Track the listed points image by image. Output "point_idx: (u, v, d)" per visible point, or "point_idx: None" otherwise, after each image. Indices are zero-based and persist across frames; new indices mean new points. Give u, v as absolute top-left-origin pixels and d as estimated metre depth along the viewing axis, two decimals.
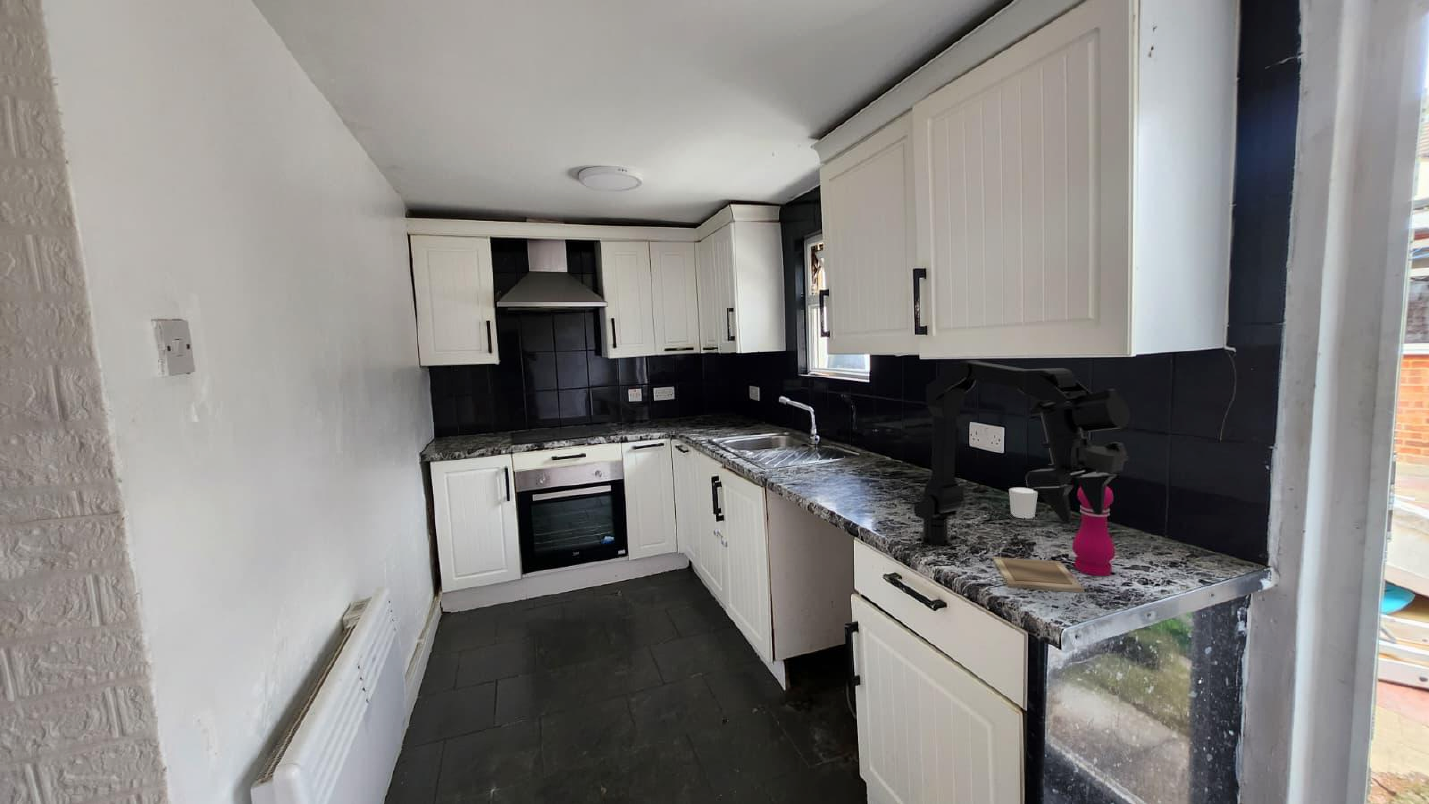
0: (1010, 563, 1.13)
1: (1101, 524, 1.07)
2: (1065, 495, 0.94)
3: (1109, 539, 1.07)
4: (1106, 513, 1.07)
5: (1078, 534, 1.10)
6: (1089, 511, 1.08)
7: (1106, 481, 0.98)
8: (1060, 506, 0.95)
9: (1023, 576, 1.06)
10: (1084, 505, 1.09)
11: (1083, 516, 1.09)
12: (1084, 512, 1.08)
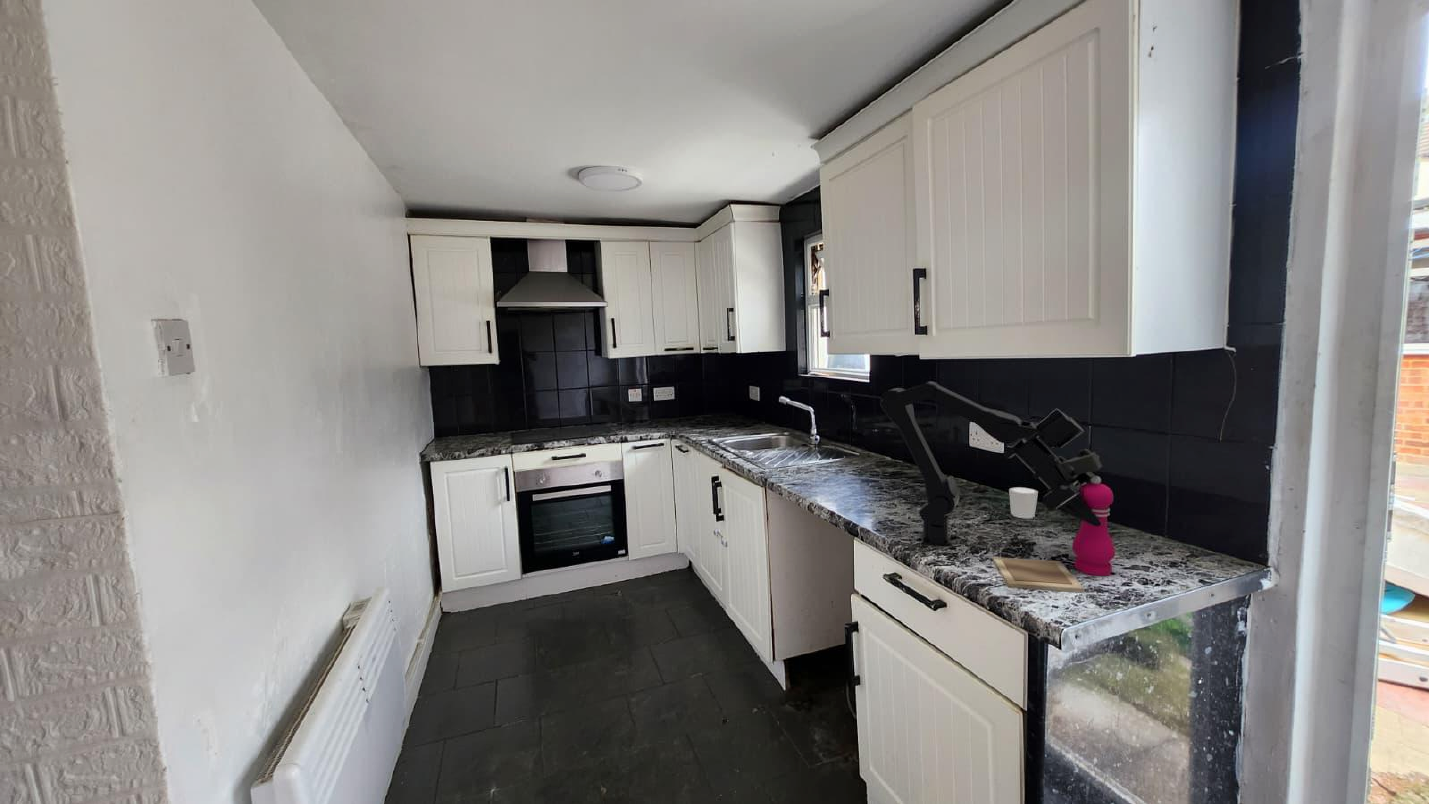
0: (1010, 563, 1.13)
1: (1101, 524, 1.07)
2: (1083, 501, 1.07)
3: (1109, 539, 1.07)
4: (1106, 513, 1.07)
5: (1078, 534, 1.10)
6: None
7: None
8: (1085, 512, 1.07)
9: (1023, 576, 1.06)
10: None
11: None
12: None
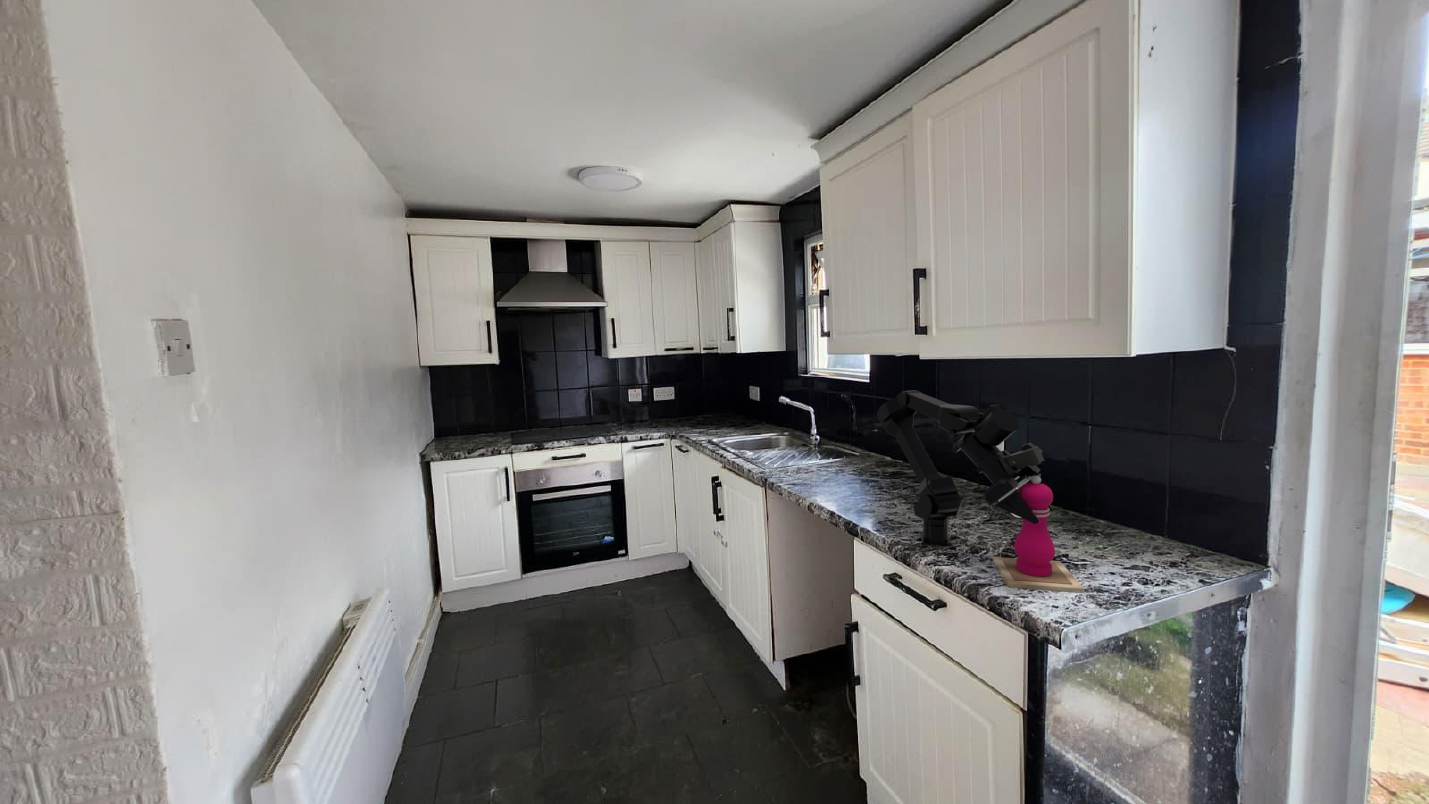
0: (1010, 563, 1.13)
1: (1040, 524, 1.06)
2: (1021, 497, 1.04)
3: (1049, 539, 1.06)
4: (1045, 513, 1.05)
5: (1019, 534, 1.09)
6: None
7: None
8: (1023, 509, 1.04)
9: (1023, 576, 1.06)
10: None
11: None
12: None
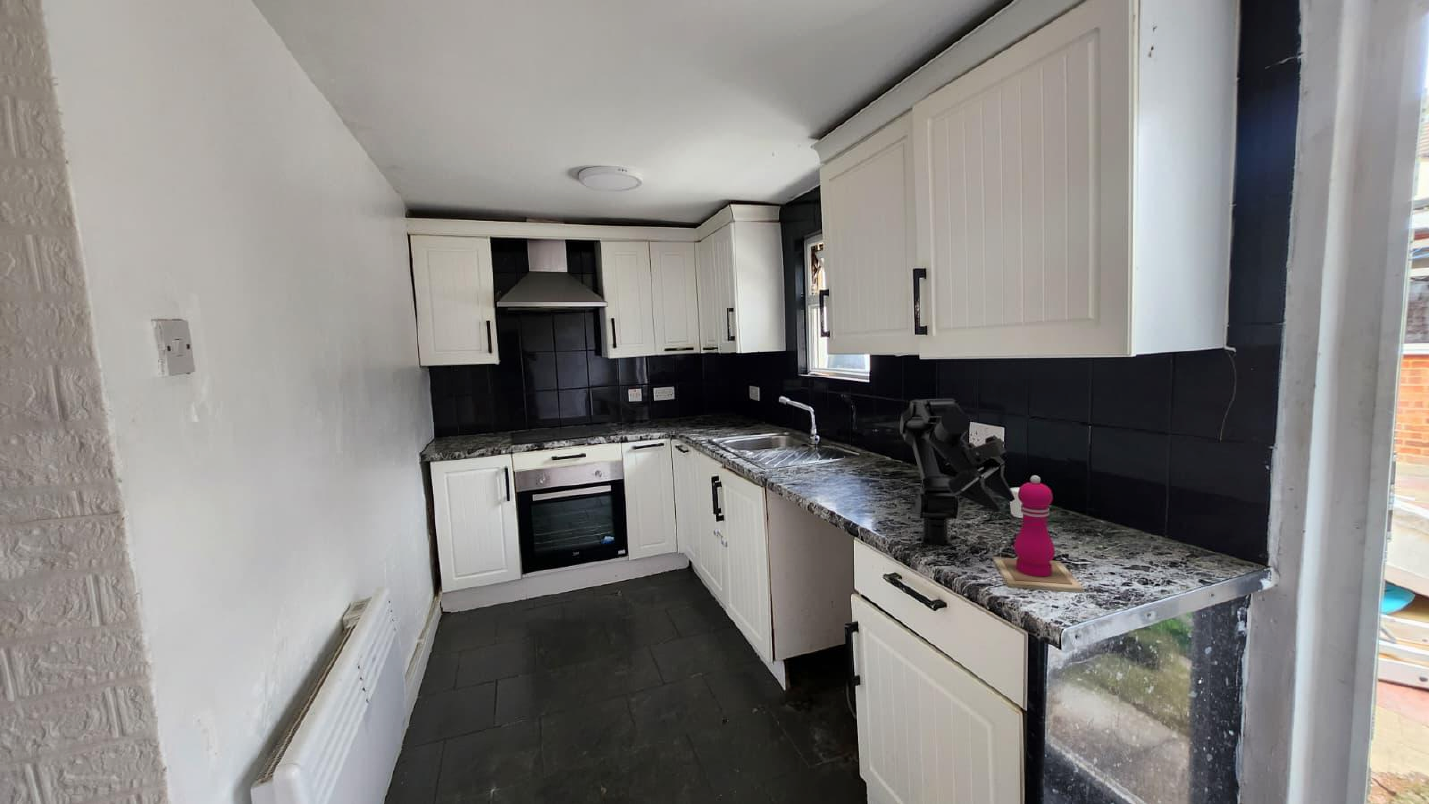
0: (1010, 563, 1.13)
1: (1040, 524, 1.06)
2: (983, 487, 1.09)
3: (1049, 539, 1.06)
4: (1045, 513, 1.05)
5: (1019, 534, 1.09)
6: (1028, 511, 1.06)
7: (1001, 472, 1.17)
8: (985, 498, 1.09)
9: (1023, 576, 1.06)
10: (1024, 505, 1.07)
11: (1023, 516, 1.08)
12: (1024, 512, 1.07)
